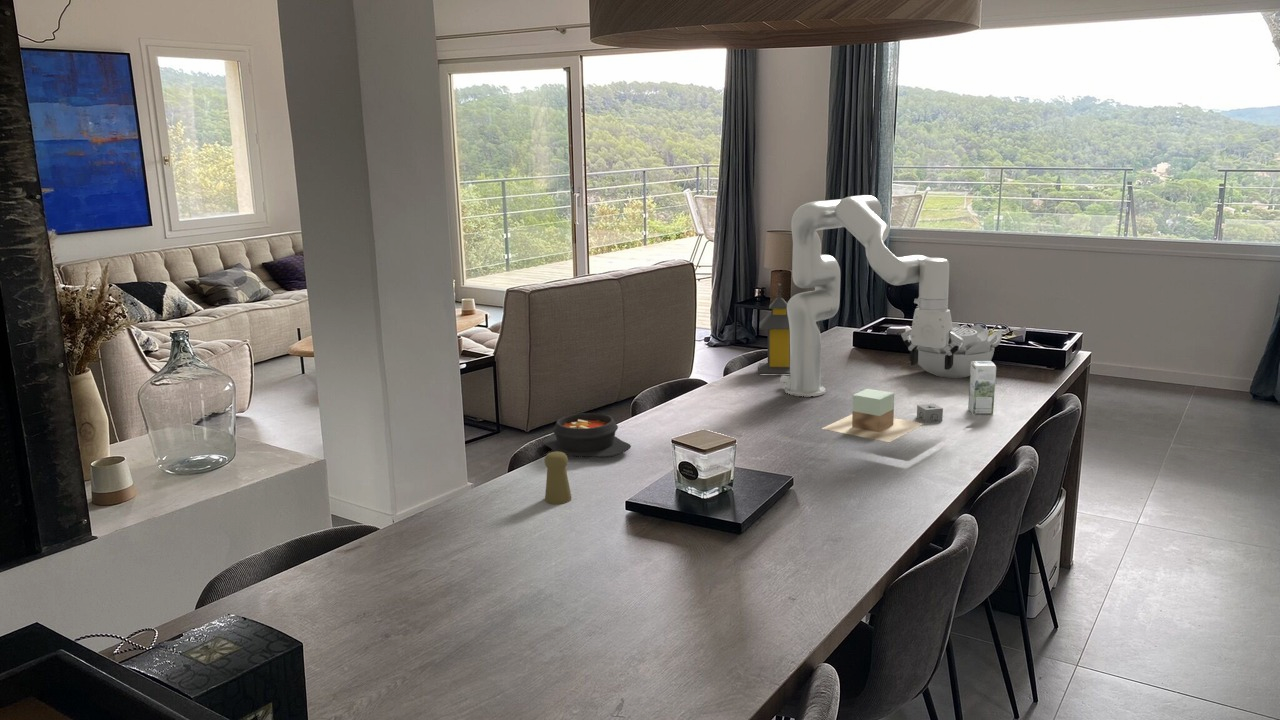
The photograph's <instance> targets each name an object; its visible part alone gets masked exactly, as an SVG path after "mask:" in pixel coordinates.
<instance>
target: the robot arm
mask: <svg viewBox="0 0 1280 720" xmlns="http://www.w3.org/2000/svg"><path fill="white" fill-rule="evenodd" d="M882 212H883V207H882V204H881V202H880V200H878V199H877V198H876V197H875V196H873V195H870V194H860V195H851V196H846V197H845V198H839V199H837V198H836V199H828V200H815V201H810V202H809V201H808V202H806V203H804V204H802V205H800V206H798V208H797V209H796V210H795V211H794V213H793V215H792V217H791V223H790V224H791V225H790V227H791V237H792V261H791V263H792V265H791V266H792V267H791V268H792V269H791V270H792V271H791V274H792V276H791V277H792V281H793V284H794V285H795V286H796V287H798V288H800V289H811V288H814V290H808V291H803V292H799V293H796V294H794V295H793V296H791V298H790V299H789V300H788V301H787V303H788V304H787V315H788V320H789V327H790V375H780V379H779V383H781V384H782V383H783V384H786V386H785V387H784V393H786V394H787V393H788V394H787V395H789V394H790V395H789V396H793V395H794V396H793V397H799V396H802V397H801V398H811V396H813V397H819V396H822V395H824V394H825V393H826V387H824V386H823V385H821V381H822V380H821V377H822V375H821V371H822V370H821V365H822V359H821V358H822V335H821V331H820V329H819V327H818V324H817V322H820V321H826V320H829V319H831V318H834V317H835V315H837V313H838V311H839V308H840V301H841V300H840V299H841V267H840V265H839V262H838V261H837V259H836V258H835V257H834V256H833V255H830V254H823V253H822V241H821V238H820V235H819V233H818V232H817V231H820V230H821V231H822V230H831V229H841V228H845V229H846V230H847V231H848V232H849V233H850V234H852V236H853V237H855V239H857V241H859V243H860V244H861V245H862V246H863V247H864V248H865V255H866V258H867V261H868V264H869V266H870V267H871V269H872V270H873V271H874V272H875V273H876V274H877V275H878V276H879V277H880V278H881V279H882V280H884V281H885V282H886V283H888V284H889V285H893V286H902V285H907V284H909V285H910V284H916V283H919V284H918V297H917V298H914V301H913V303H914V304H915V305H916V304H917V307H916V308H915V309H914V312H913V318H912V323H911V328H910V329H911V330H909V331H906V330H905V331H906V332H905V331H904V332H901V338H902V341H903V343H904V345H905V346H906V347H907V349H908V351H909V361H910V366H915V365H918V364H917V363H918V349H917V347H918V346H924V347H933V348H943V349H944V350H945V352H946V353H947V355H945V368H944V369H945V370H948V369H950V368H952V366H953V357H954V353H955V352H957V351H958V350H959V349H960V347H961V346H962V344H963V342H964V339H962V338H961V337H959V336H958V335H956V334H955V333H953V332H952V322H953V321H952V314H951V310H950V309H948V308H949V288H950V287H949V285H950V284H949V283H950V262H949V260H948V259H946V258H943V257H929V256H926V255H922V254H911V255H905V256H896V255H895V254H894V253H892V251H890V249H889V248H888V247H887V246H886V244H885V241H886V240H887V238H888V237H889V234H890V227H889V225H888V224H887V223H886V221H884V220H882V219H881V217H882V214H883V213H882ZM909 335H911V340H910V339H909ZM952 339H953V340H954V341H956V345H955V346H954V347H952V345H951V343H952ZM803 396H804V397H803Z"/></svg>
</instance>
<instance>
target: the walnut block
mask: <svg viewBox="0 0 1280 720" xmlns="http://www.w3.org/2000/svg"><path fill="white" fill-rule="evenodd" d="M851 414H852V427H854V428H859V429H865V430H870V431H875V432H881V431H883V430H885V429H887V428H889V427H891V426H892V425H893V420H894V418H895V417H894V416H895V415H894V414H895V408H894V409H893V410H891V411H889V412H887V413H885V414H883V415H881V416H877V415H871V414H866V413H860V412H855V411H853V410H851Z"/></svg>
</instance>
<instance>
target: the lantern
mask: <svg viewBox="0 0 1280 720" xmlns="http://www.w3.org/2000/svg"><path fill="white" fill-rule="evenodd" d="M787 304H788V301H786V300H785V299H784V298H783V297H782V283H778V284H777V297H776V298H775V299H774V300H773V301H772V302H770V304H769V306H768V309H769V310H770V309H771V311H770V312H769V314H768V315H766V316H765V317H764V318H763V319H762V320H760V321H759V326H758V328H759V329H760V330H767V362H759V363H758V375H759V374H790V327H789V320H788V315H787Z"/></svg>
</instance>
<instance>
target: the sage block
mask: <svg viewBox="0 0 1280 720" xmlns="http://www.w3.org/2000/svg"><path fill="white" fill-rule="evenodd" d="M893 409H894V410H895V392H892V391H891V392H890V391H886V390H885V391H884V390H879V389H878V390H877V389H871V388H865V389H863V390H861V391H858V392H856V393H854V394H853V395H852V411H855V412H860V413H866V414H871V415H877V416H881V415H883V414H885V413H887V412H889V411H891V410H893Z"/></svg>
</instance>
